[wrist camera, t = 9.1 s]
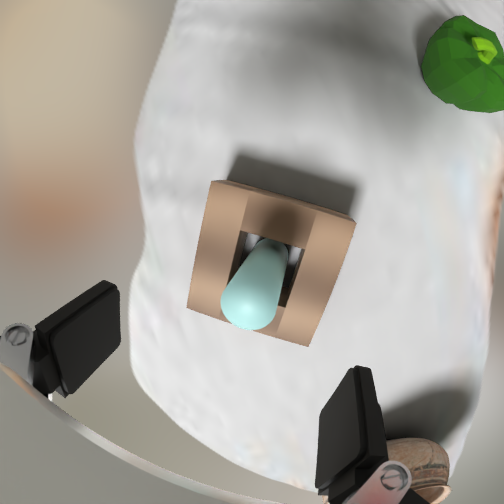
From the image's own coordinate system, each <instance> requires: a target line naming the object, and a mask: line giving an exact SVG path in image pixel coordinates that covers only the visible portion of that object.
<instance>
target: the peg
mask: <svg viewBox="0 0 504 504" xmlns="http://www.w3.org/2000/svg"><path fill="white" fill-rule="evenodd" d="M287 261H288V251H287V248H286V246H285V245H284V244H283V243H282V242H279V241H275V240H272V239H269V238H266V239H263V240H261V241H259V242H258V243H257V244H256V246H255V247H254V248H253V250H252V251H251V253H250V254H249V256H248V257H247V258H246V260H245V261H244V263H243V264H242V265H241V267H240V268H239V270H238V271H237V273H236V274H235V275H234V277H233V278H232V280H231V281H230V282H229V284H228V285H227V287H226V288H225V290H224V291H223V293H222V296H221V309H222V311H223V314H224V315H225V317H226V318H227V319H228V320H229V321H230V322H231V323H232V324H233V325H235V326H237V327H239V328H242V329H246V330H257V329H261V328H263V327H265V326H267V325H268V324H269V323H270V322H271V321H272V320H273V318H274V316H275V314H276V310H277V306H278V301H279V297H280V293H281V288H282V284H283V279H284V275H285V270H286V266H287Z"/></svg>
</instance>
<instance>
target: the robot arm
mask: <svg viewBox="0 0 504 504" xmlns="http://www.w3.org/2000/svg"><path fill="white" fill-rule="evenodd" d="M35 328H36V330H35V331H32V329H31V328H30V327H29V326H28V325H26V324H22V323H15V324H12V325H10V326H8V327H7V328H6V329H5V330H4V331H3V333H2V335H1V336H0V504H285V503H278V502H273V501H268V500H262V499H257V498H253V497H248V496H244V495H240V494H237V493H232V492H229V491H226V490H222V489H219V488H215V487H212V486H209V485H206V484H203V483H200V482H197V481H194V480H191V479H189V478H186V477H183V476H181V475H178V474H176V473H173V472H171V471H168V470H166V469H163V468H161V467H159V466H157V465H155V464H152V463H150V462H148V461H146V460H144V459H142V458H140V457H138V456H136V455H134V454H132V453H130V452H128V451H126V450H125V449H123V448H121V447H119V446H117V445H115V444H113V443H112V442H110V441H109V440H107V439H105V438H104V437H102V436H100V435H99V434H97V433H95V432H94V431H92V430H91V429H89V428H87V427H86V426H85V425H83V424H82V423H80V422H79V421H77V420H76V419H74V418H73V417H72V416H70V415H69V414H67V413H66V412H65V411H63V410H62V409H61V408H59V407H58V406H57V405H55V404H54V403H53V402H52V393H53V392H54V391H55V390H56V391H57V392H58V393H59V394H60V395H62V396H63V397H64V398H66V397H67V396H68V395H69V394H73V393H74V392H75V391H76V390H77V389H78V388H79V387H80V386H81V385H82V384H83V383H84V382H85V380H87V379H88V378H89V377H90V375H91V374H92V373H93V372H94V371H95V370H96V369H97V368H98V367H99V366H100V365H101V364H102V363H103V362H104V361H105V360H106V359H107V358H108V357H109V356H110V355H111V354H112V353H113V352H114V351H115V350H116V349H117V348H118V346H119V345H120V342H121V334H120V293H119V290H117V286H116V285H115V284H113V283H110V282H108V281H106V280H103V281H101V282H99V283H98V284H96V285H95V286H93V287H92V288H90V289H88V290H87V291H85V292H84V293H83V294H81V295H79V296H78V297H76V298H75V299H73V300H72V301H70V302H69V303H67V304H66V305H64V306H63V307H61V308H60V309H58V310H57V311H56V312H54V313H53V314H51V315H50V316H48V317H47V318H45V319H44V320H42V321H41V322H40V323H38V324H37V325H35ZM411 481H412V477H411V473H410V471H409V469H408V468H407V467H406V466H405V465H404V464H402V463H401V462H398V461H389V458H388V450H387V443H386V436H385V430H384V424H383V418H382V412H381V407H380V405H379V404H378V401H377V396H376V391H375V386H374V381H373V376H372V372H371V369H370V368H367V367H362V366H358V365H357V366H355V367H354V368H350V369H349V370H348V371H347V373H346V375H345V376H344V378H343V379H342V381H341V382H340V384H339V386H338V387H337V389H336V390H335V392H334V393H333V395H332V396H331V398H330V399H329V401H328V402H327V403H326V405H325V406H324V408H323V409H322V411H321V413H320V417H319V436H318V453H317V467H316V479H315V487H316V488H319V490H318V495H323V496H328V502H329V503H328V504H430V503H429V502H427V501H426V500H425V499H424V498H422V497H421V496H420V495H419V494H417V493H416V492H415V491H414V490H412V489H411V488H410V485H411Z"/></svg>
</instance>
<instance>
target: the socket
mask: <svg viewBox="0 0 504 504" xmlns="http://www.w3.org/2000/svg"><path fill="white" fill-rule="evenodd" d="M355 226H356V222H355V221H354V220H353V219H352V218H351V217H349V216H348V215H346V214H343V213H340V212H337V211H334V210H331V209H328V208H324V207H321V206H318V205H315V204H312V203H308V202H305V201H302V200H298V199H295V198H292V197H288V196H285V195H281V194H278V193H274V192H271V191H267V190H263V189H260V188H256V187H252V186H249V185H245V184H241V183H237V182H233V181H229V180H217V181H211V185H210V189H209V194H208V198H207V203H206V207H205V212H204V217H203V221H202V226H201V231H200V236H199V241H198V246H197V251H196V256H195V262H194V267H193V273H192V278H191V284H190V290H189V296H188V302H187V308H188V309H191V310H194V311H197V312H199V313H202V314H205V315H208V316H211V317H213V318H216V319H219V320H222V321H225V322H228V323H231V322H230V321H229V320H228V319H227V318H226V317H225V315H224V314H223V311H222V309H221V296H222V293H223V291H224V290H225V288H226V287H227V285H228V284H229V282H230V281H231V280H232V278H233V277H234V275H235V274H236V273H237V271H238V268H239V264H240V260H241V256H242V252H243V248H244V244H245V241H246V237H247V233H252V234H255V235H259V236H262V237H265V238H269V239H272V240H275V241H279V242H282V243H285V244H289V245H292V246H295V247H298V248H302V250H301V253H300V256H299V259H298V262H297V265H296V268H295V271H294V274H293V277H292V280H291V283H290V286H289V288H287V287H283V286H282V288H281V293H280V297H279V301H278V306H277V310H276V314H275V316H274V318H273V320H272V321H271V322H270V323H269V324H268V325H267V326H265V327H263V328H261V329H257V330H252V331H256V332H259V333H262V334H265V335H269V336H272V337H275V338H279V339H282V340H286V341H289V342H292V343H296V344H300V345H303V346H307V347H308V346H309V344H310V342H311V340H312V337H313V335H314V333H315V331H316V328H317V326H318V324H319V321H320V319H321V317H322V314H323V312H324V310H325V307H326V305H327V302H328V300H329V297H330V295H331V292H332V290H333V287H334V285H335V282H336V280H337V277H338V274H339V272H340V269H341V266H342V264H343V261H344V258H345V255H346V253H347V250H348V247H349V244H350V241H351V238H352V235H353V232H354V229H355ZM231 324H232V323H231Z"/></svg>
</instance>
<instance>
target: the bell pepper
mask: <svg viewBox="0 0 504 504" xmlns="http://www.w3.org/2000/svg"><path fill="white" fill-rule="evenodd" d="M421 68H422V72H423V76H424V81H425V83H426V84H427V86H428V87H429V89H430V90H431V92H432V93H433V94H434V95H436V96H437V97H438V98H440V99H441V100H443V101H444V102H445V103H450V104H454V105H455V106H456V107H458V108H459V109H463V110H468V111H476V112H486V113H493V112H497V111H502V110H504V52H503V48H502V46H501V44H500V42H499V40H498V38H497V36H496V34H495V32H493V31H491V30H489V29H487V28H485V27H483V26H481V25H479V24H477V23H475V22H474V21H472V20H471V19H469V18H467V17H466V16H464V15H462V16H455V17H453V18H451V19H449V20H448V21H446V22H444V23H443V24H442V26H441V27H440V28H439V29H438V30H437V31H436V32H435V34H434V35H433V36H432V37H431V38H430V40H429V43H428V46H427V48H426V52H425V55H424V59H423V62H422V65H421Z"/></svg>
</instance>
